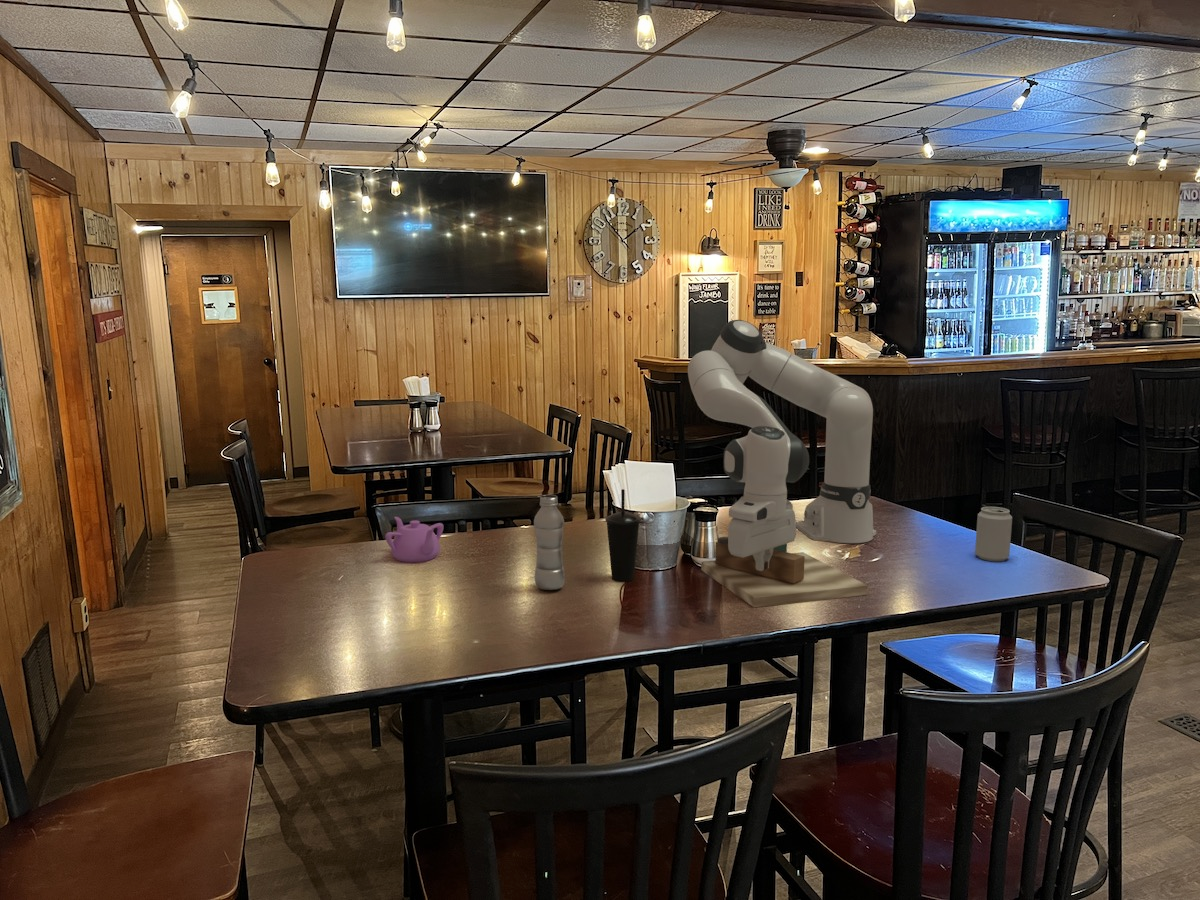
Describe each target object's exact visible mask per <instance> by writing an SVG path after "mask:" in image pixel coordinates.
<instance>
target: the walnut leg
mask: <svg viewBox="0 0 1200 900" xmlns="http://www.w3.org/2000/svg"><path fill="white" fill-rule="evenodd" d="M792 553H793V552H792ZM792 553H791V552H783V551H778V550H774V549H773V554H772V557H771V559H770V561H769V568H768V569H766V570H763V571H759V570H756V562H755V559H754V557H753V555H750V556H747V557H738V556H734V555H731V553H730V552H729V549H728V537H726V536H720V537H717V541H716V542H715V555H714V556H715V557H714V558H715V564H717V565H721V566H725V567H729V568H733V569H737V570H741V571H745V572H749V573H753V574H757V575H761V576H765V577H769V578H774V579H778V580H782V581H786V582H790V583H796V582H798V581H801V580H803V579H804V559H805V556H801V555H797V554H792Z"/></svg>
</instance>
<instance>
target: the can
mask: <svg viewBox="0 0 1200 900" xmlns="http://www.w3.org/2000/svg"><path fill="white" fill-rule="evenodd" d="M980 510H981V511H979V513H977V518H976V519H977V520H976V530H975V531H976V533H975V546H974V547H975V549H974V554H975V555H976V556H977V557H978V558H979V559H981V560H984V561H988V562H1004V561H1005V560H1007V559H1008V558H1010V550H1011V540H1012V539H1011V537H1012V525H1013V516H1012V515H1011V514H1010V512H1011V511H1010V509H1008V508H1005V507H998V506H982V507H981V508H980Z"/></svg>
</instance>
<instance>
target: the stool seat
mask: <svg viewBox="0 0 1200 900" xmlns="http://www.w3.org/2000/svg"><path fill="white" fill-rule="evenodd" d="M773 549H774V550H778V551H783V552H787V551H788V543H787V544H784V545H781V546H778V547H775V548H773ZM792 554H797V555H801V556H805V559H804V579H803V580H801V581H798V582H796V583H790V582H786V581H782V580H778V579H774V578H769V577H765V576H761V575H757V574H753V573H749V572H745V571H741V570H737V569H733V568H729V567H725V566H721V565H717V564H715V560H708V561H707V560H706V561H705V560H704V561H701V565H700V566H701V569H700V571H702V572H703V573H705V574H706V575H707V576H709V577H710V578H711V579H713V580H714V581H716V582H717V583H719V584H720V585H722V586H723V587H724V588H726V589H727V590H728V591H731V592H732V593H733V594H734V595H736V596H737V597H738V598H740V599H741V600H743V601H744V602H745V603H747V604H749V605H750V606H751V607H753V608H760V607H769V606H780V605H788V604H796V603H797V604H798V603H805V602H815V601H824V600H832V599H841V598H842V599H843V598H852V597H859V596H860V597H861V596H868V587H869V586H868V585H867V584H865V583H864V582H862V581H860V580H858V579H856V578H854V577H852V576H850V575H848V574H847V573H844V572H842V571H841V570H839V569H837V568H834V567H833V566H831V565H829V564H828V563H825V562H823V561H821V560H819V559H817V558H815V557H813V556H812V555H810V554H807V553H805V552H804V551H802V552H800V551H799V552H792Z"/></svg>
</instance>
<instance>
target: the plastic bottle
mask: <svg viewBox="0 0 1200 900" xmlns="http://www.w3.org/2000/svg"><path fill="white" fill-rule="evenodd" d="M539 500H540V501H539V506H540V508H539V510H538V511H537V513H535V516H534V519H533V525H534V526H533V527H534V532H535V539H536V540H535V541H536V542H535V543H536V563H535V564H536V565H535V570H534V581H535V582H534V583H535V585H536V587H537V588H538V589H540V590H543V591H544V590H545V591H554V590H555V591H556V590H559V589H561V588H562V587H563V586H564V585H565V580H566V573H565V567H564V562H563V561H564V560H563V534H564V525H565V520H564V519H565V518H564V516H563V514H562V513H561V512H560V510H559V509H558V506H559V502H558V496H557V495H555V494H543V495H540V497H539Z"/></svg>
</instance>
